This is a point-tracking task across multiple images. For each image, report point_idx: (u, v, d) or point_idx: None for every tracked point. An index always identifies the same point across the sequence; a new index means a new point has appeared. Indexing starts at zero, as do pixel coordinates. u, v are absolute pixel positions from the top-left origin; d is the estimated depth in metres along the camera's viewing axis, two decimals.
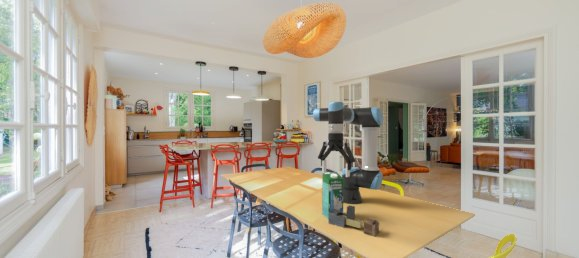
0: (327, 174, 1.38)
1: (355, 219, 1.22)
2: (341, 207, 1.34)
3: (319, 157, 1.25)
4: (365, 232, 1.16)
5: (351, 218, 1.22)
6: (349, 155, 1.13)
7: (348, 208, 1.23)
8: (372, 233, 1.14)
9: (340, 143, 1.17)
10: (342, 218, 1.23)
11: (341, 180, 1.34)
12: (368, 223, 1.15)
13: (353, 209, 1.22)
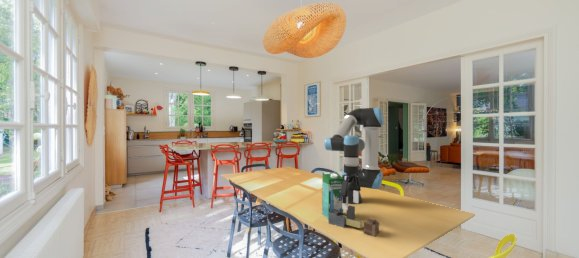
0: (327, 174, 1.38)
1: (355, 219, 1.22)
2: (341, 207, 1.34)
3: None
4: (365, 232, 1.16)
5: (351, 218, 1.22)
6: None
7: (348, 208, 1.23)
8: (372, 233, 1.14)
9: None
10: (342, 218, 1.23)
11: (341, 180, 1.34)
12: (368, 223, 1.15)
13: (353, 209, 1.22)
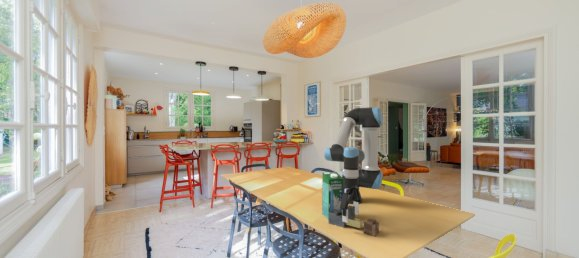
0: (327, 174, 1.38)
1: (355, 219, 1.22)
2: None
3: None
4: (365, 232, 1.16)
5: (351, 218, 1.22)
6: None
7: (348, 208, 1.23)
8: (372, 233, 1.14)
9: None
10: None
11: (341, 180, 1.34)
12: (368, 223, 1.15)
13: (353, 209, 1.22)
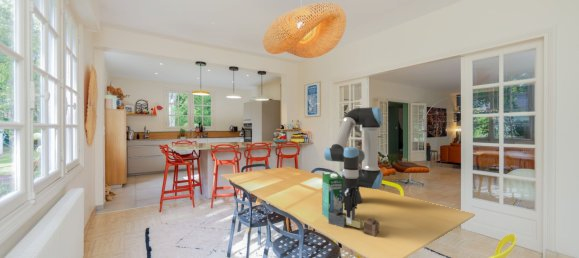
0: (327, 174, 1.38)
1: (355, 219, 1.22)
2: (341, 207, 1.34)
3: None
4: (365, 232, 1.16)
5: None
6: None
7: None
8: (372, 233, 1.14)
9: None
10: (342, 218, 1.23)
11: (341, 180, 1.34)
12: (368, 223, 1.15)
13: (353, 209, 1.22)
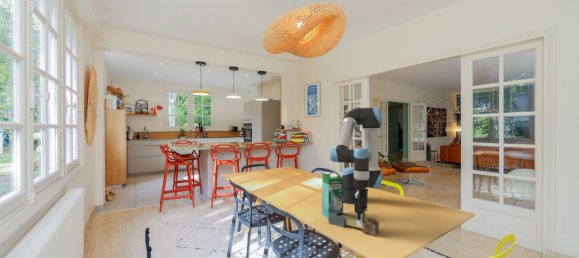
0: (327, 174, 1.38)
1: None
2: (341, 207, 1.34)
3: None
4: (365, 232, 1.16)
5: None
6: None
7: None
8: (372, 233, 1.14)
9: None
10: (342, 218, 1.23)
11: (341, 180, 1.34)
12: (368, 223, 1.15)
13: (363, 212, 1.19)
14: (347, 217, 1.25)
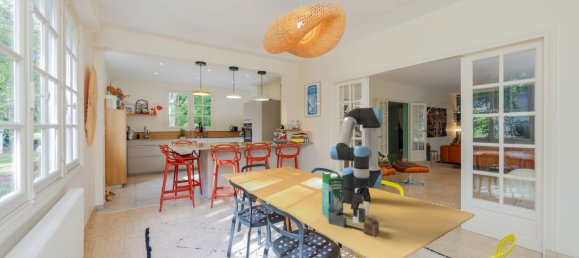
0: (327, 174, 1.38)
1: None
2: (341, 207, 1.34)
3: None
4: (365, 232, 1.16)
5: (361, 221, 1.18)
6: (352, 201, 1.14)
7: None
8: (372, 233, 1.14)
9: None
10: (342, 218, 1.23)
11: (341, 180, 1.34)
12: (368, 223, 1.15)
13: (363, 212, 1.19)
14: (347, 217, 1.25)
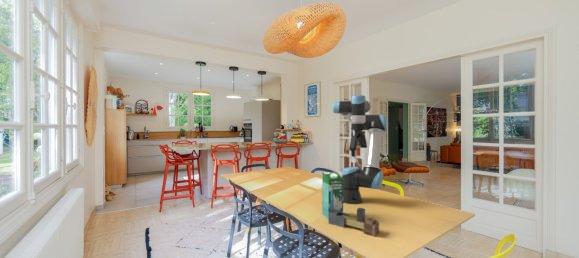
0: (327, 174, 1.38)
1: None
2: (341, 207, 1.34)
3: None
4: (365, 232, 1.16)
5: (361, 221, 1.18)
6: None
7: (358, 210, 1.19)
8: (372, 233, 1.14)
9: None
10: (342, 218, 1.23)
11: (341, 180, 1.34)
12: (368, 223, 1.15)
13: (363, 212, 1.19)
14: (347, 217, 1.25)
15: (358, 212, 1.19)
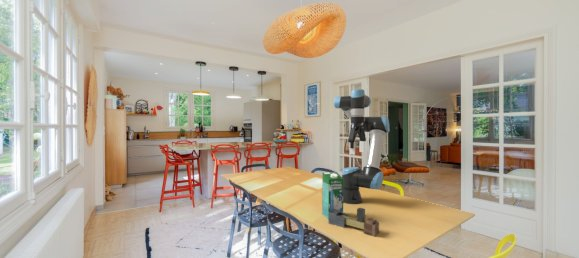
0: (327, 174, 1.38)
1: None
2: (341, 207, 1.34)
3: None
4: (365, 232, 1.16)
5: (361, 221, 1.18)
6: (349, 135, 1.32)
7: (358, 210, 1.19)
8: (372, 233, 1.14)
9: None
10: (342, 218, 1.23)
11: (341, 180, 1.34)
12: (368, 223, 1.15)
13: (363, 212, 1.19)
14: (347, 217, 1.25)
15: (358, 212, 1.19)
